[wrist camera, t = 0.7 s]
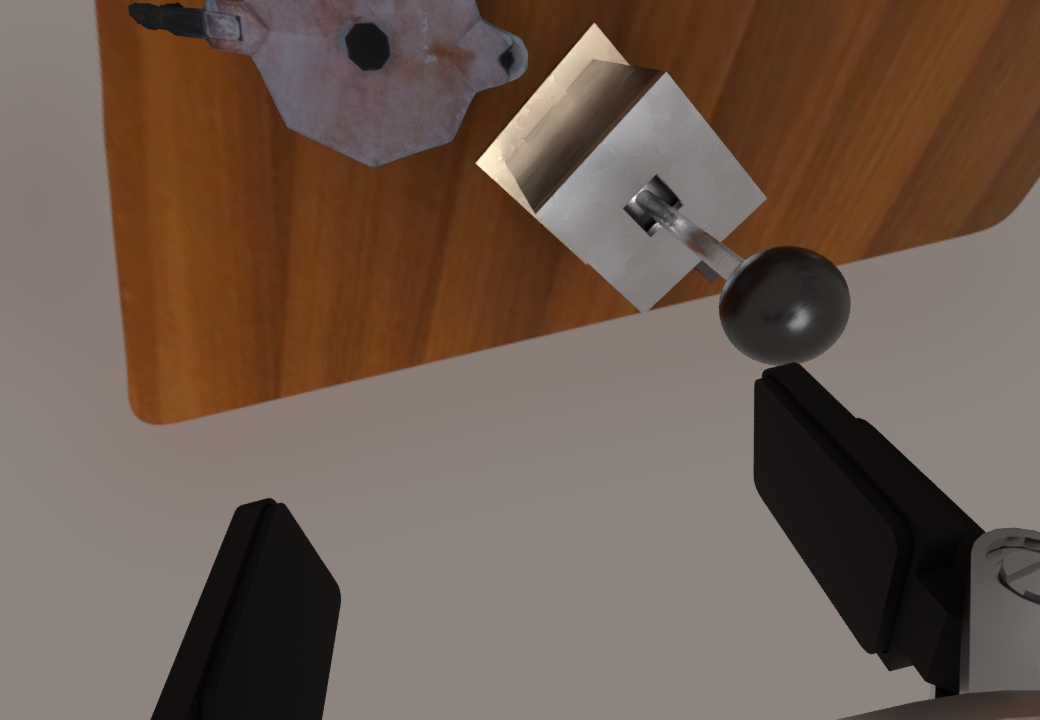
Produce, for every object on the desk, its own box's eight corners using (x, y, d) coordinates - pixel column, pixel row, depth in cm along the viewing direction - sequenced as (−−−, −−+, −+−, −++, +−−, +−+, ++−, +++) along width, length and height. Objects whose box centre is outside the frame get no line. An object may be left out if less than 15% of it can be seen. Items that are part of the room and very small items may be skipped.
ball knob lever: (648, 108, 29) (858, 183, 15) (717, 191, 32) (951, 321, 18) (561, 201, 31) (675, 347, 17) (634, 271, 34) (785, 448, 19)
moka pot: (491, 118, 40) (537, 185, 23) (263, 114, 38) (124, 184, 21) (492, -47, 35) (552, -120, 18) (230, -62, 33) (15, -163, 16)
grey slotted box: (592, 22, 38) (671, 18, 25) (706, 161, 43) (816, 212, 31) (475, 161, 41) (494, 217, 29) (595, 272, 47) (654, 358, 35)
